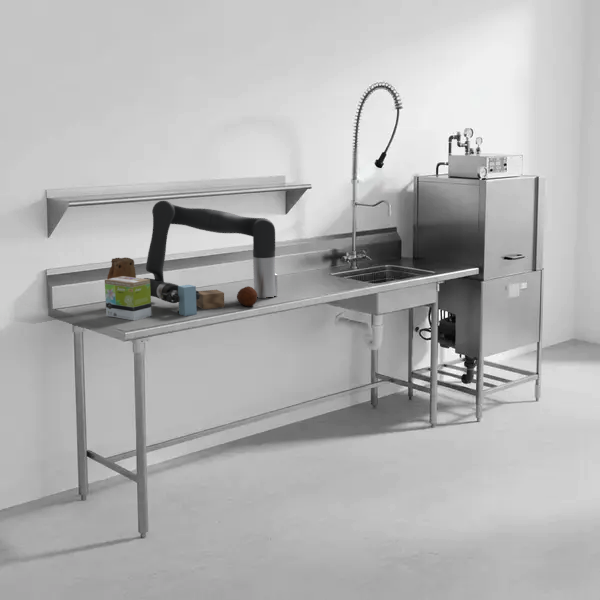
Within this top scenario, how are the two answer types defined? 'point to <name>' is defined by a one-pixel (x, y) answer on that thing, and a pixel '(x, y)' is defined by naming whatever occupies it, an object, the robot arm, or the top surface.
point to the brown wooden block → (210, 299)
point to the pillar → (187, 300)
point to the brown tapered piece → (122, 268)
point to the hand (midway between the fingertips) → (188, 298)
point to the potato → (247, 296)
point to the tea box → (128, 298)
